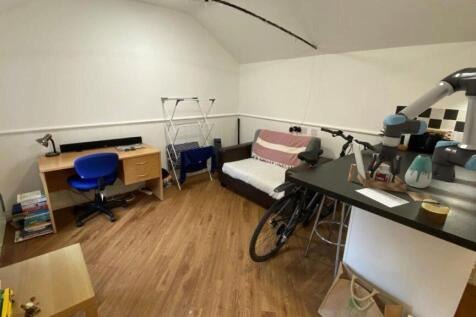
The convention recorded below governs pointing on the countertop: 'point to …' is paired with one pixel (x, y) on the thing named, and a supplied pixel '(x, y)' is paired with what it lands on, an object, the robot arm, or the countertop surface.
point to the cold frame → (378, 182)
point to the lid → (359, 159)
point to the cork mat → (419, 196)
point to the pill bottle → (382, 173)
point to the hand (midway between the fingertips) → (379, 184)
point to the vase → (419, 172)
